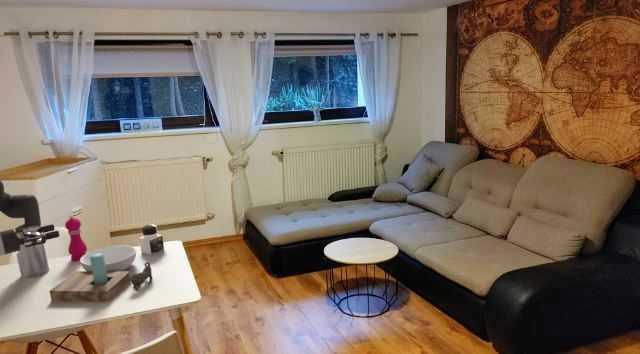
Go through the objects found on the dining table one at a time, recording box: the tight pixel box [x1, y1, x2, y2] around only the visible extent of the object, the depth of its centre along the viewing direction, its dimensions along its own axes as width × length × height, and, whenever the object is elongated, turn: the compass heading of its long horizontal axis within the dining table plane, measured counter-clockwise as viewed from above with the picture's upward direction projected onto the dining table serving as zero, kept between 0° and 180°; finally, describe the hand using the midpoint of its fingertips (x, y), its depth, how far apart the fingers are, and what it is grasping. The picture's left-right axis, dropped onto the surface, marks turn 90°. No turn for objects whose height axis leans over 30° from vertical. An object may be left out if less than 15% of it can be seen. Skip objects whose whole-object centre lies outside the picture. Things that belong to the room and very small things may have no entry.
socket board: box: [49, 270, 132, 303], centre depth 176 cm, size 22×16×4 cm
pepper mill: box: [64, 214, 88, 263], centre depth 205 cm, size 7×7×20 cm
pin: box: [90, 253, 108, 285], centre depth 174 cm, size 5×5×14 cm
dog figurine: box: [129, 261, 153, 291], centre depth 178 cm, size 12×6×7 cm, turn 165°
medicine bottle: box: [138, 224, 165, 256], centre depth 210 cm, size 7×7×12 cm
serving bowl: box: [79, 244, 137, 271], centre depth 193 cm, size 21×21×7 cm
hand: (56, 230), depth 163 cm, fingers open, 8 cm apart
